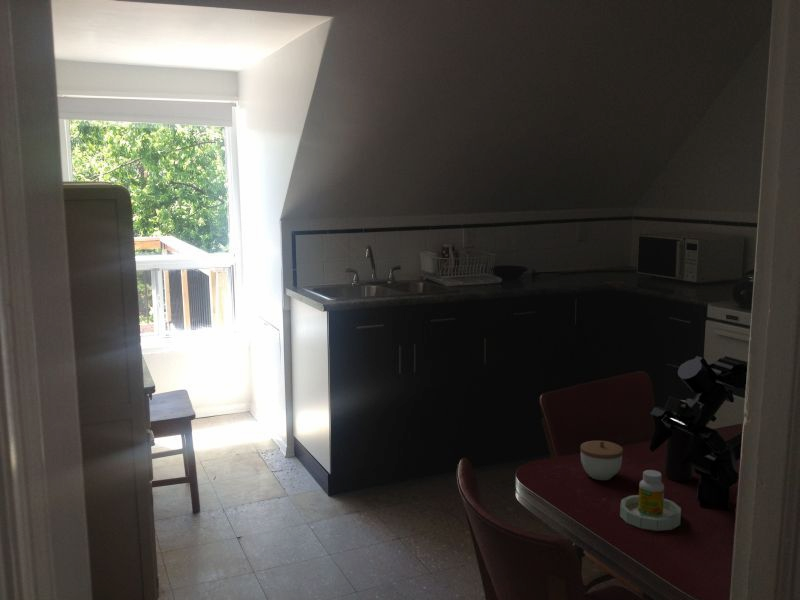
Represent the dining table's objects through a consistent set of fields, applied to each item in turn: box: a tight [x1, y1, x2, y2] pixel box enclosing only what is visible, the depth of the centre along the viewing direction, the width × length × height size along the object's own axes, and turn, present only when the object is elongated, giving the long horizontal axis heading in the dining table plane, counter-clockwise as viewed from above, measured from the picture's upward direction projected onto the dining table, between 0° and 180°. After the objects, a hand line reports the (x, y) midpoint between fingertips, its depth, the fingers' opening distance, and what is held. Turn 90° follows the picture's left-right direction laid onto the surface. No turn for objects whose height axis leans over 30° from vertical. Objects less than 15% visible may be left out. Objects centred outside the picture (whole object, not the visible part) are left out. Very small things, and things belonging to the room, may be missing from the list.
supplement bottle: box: [638, 469, 665, 518], centre depth 169 cm, size 5×5×10 cm
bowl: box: [619, 494, 682, 532], centre depth 169 cm, size 13×13×2 cm
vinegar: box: [664, 399, 694, 482], centre depth 191 cm, size 7×7×20 cm
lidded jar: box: [579, 440, 624, 481], centre depth 193 cm, size 11×11×9 cm
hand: (665, 457), depth 169 cm, fingers open, 9 cm apart
